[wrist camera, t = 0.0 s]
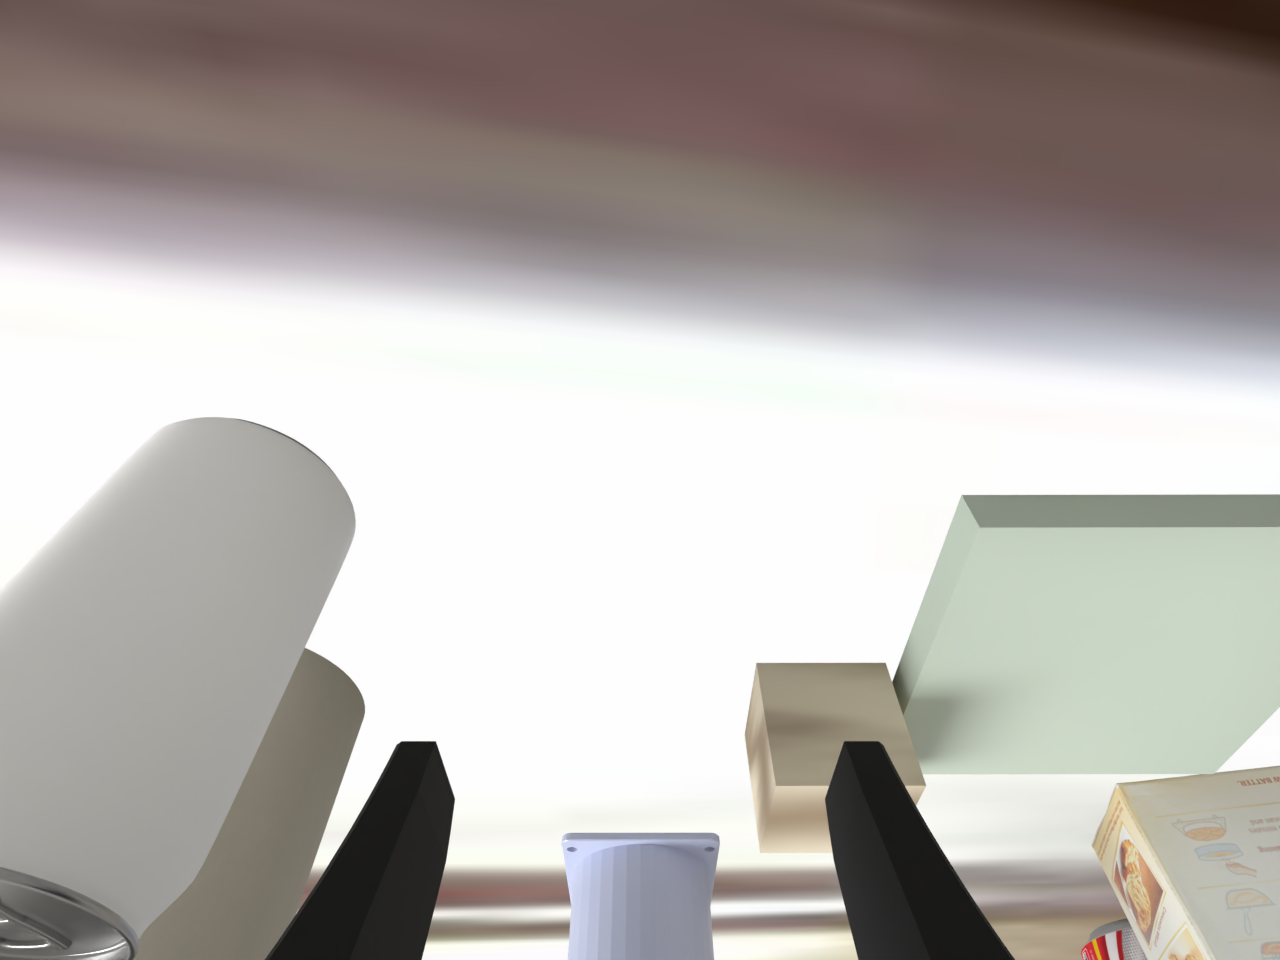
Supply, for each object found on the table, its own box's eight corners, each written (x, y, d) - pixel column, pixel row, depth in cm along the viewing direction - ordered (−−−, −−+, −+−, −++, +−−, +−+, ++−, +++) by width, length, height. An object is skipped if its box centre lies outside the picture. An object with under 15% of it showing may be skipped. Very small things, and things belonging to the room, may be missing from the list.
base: (1191, 741, 30) (1214, 774, 29) (870, 741, 30) (879, 774, 29) (1412, 494, 22) (1457, 527, 21) (961, 494, 22) (979, 527, 21)
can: (320, 401, 20) (27, 841, 10) (386, 564, 24) (219, 986, 14) (96, 414, 20) (-388, 853, 11) (200, 572, 24) (-83, 992, 15)
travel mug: (397, 670, 27) (141, 1464, 13) (331, 760, 32) (82, 1438, 17) (181, 593, 25) (-430, 1491, 11) (140, 703, 29) (-339, 1453, 15)
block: (860, 732, 30) (892, 852, 26) (744, 732, 30) (760, 853, 26) (885, 660, 27) (926, 785, 23) (756, 661, 27) (775, 785, 23)
